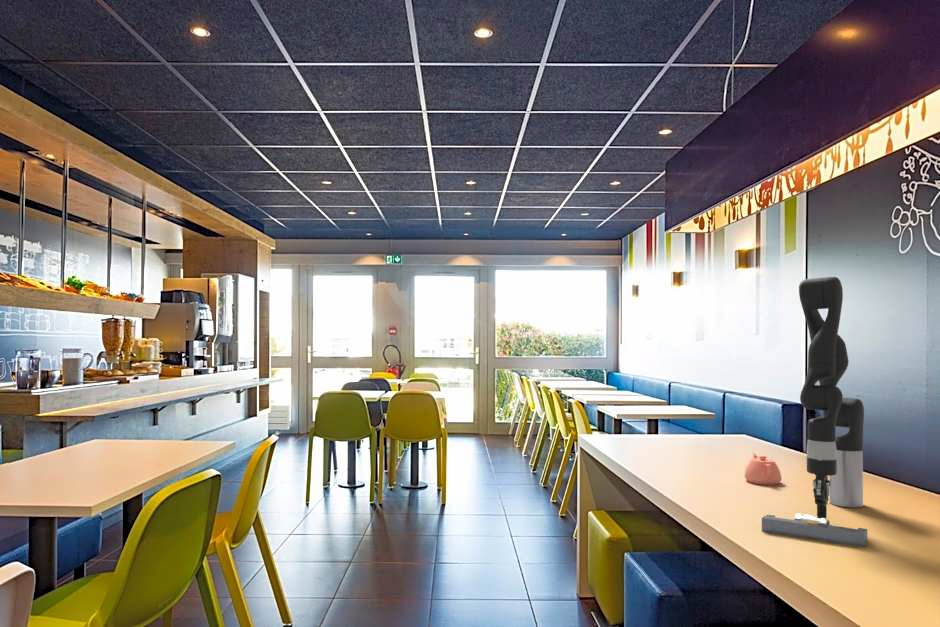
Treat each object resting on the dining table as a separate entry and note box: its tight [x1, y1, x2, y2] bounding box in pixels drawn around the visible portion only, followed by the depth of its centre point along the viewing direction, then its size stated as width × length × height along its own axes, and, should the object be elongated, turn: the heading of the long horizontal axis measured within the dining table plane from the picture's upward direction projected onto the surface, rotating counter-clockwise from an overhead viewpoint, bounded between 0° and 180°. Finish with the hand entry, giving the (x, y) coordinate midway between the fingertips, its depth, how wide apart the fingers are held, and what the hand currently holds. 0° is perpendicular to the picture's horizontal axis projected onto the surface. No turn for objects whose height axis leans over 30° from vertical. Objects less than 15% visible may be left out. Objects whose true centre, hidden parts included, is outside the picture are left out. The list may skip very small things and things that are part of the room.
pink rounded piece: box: [744, 452, 782, 486], centre depth 249 cm, size 12×18×10 cm
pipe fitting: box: [793, 513, 830, 525], centre depth 187 cm, size 8×4×7 cm
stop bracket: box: [761, 514, 868, 548], centre depth 180 cm, size 7×24×4 cm, turn 56°
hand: (821, 518), depth 193 cm, fingers closed
